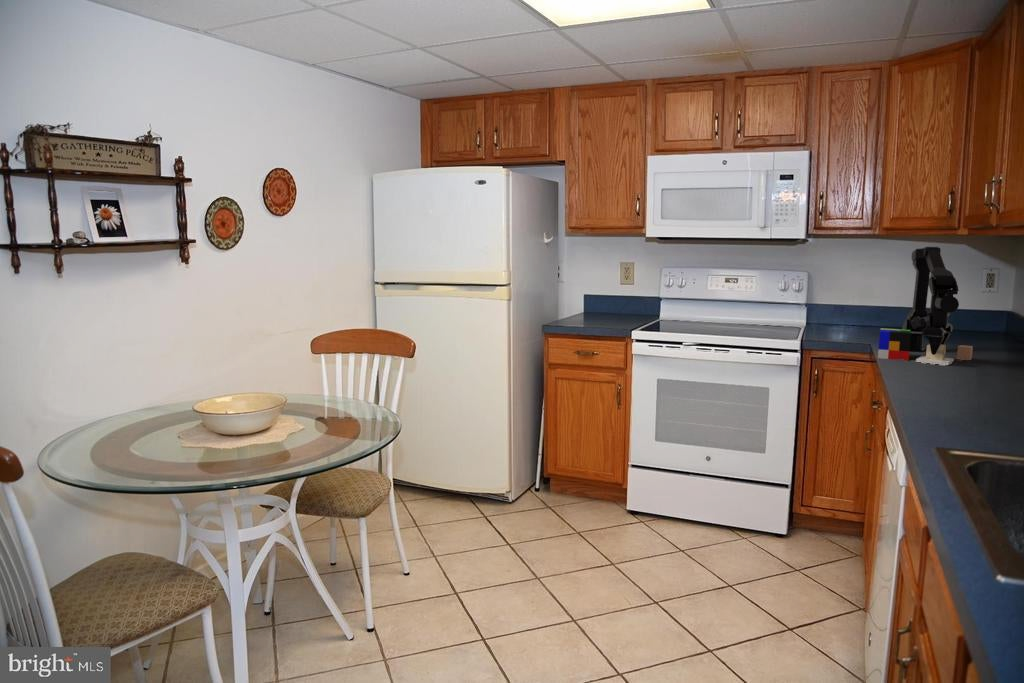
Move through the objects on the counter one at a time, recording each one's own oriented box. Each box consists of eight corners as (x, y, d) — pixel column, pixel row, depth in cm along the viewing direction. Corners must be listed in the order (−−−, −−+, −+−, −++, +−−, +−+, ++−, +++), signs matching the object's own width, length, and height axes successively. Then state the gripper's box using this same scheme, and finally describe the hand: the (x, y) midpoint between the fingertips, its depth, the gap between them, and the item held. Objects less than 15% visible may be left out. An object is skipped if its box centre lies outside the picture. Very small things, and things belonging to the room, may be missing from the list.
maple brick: (928, 357, 262) (930, 343, 261) (944, 358, 259) (946, 344, 258) (925, 359, 258) (927, 345, 258) (941, 360, 255) (943, 346, 254)
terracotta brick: (958, 358, 267) (960, 345, 266) (971, 359, 264) (972, 346, 264) (956, 360, 264) (958, 346, 263) (969, 361, 261) (970, 347, 261)
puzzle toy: (877, 358, 267) (879, 331, 266) (878, 354, 276) (880, 328, 275) (908, 360, 263) (911, 333, 261) (908, 356, 271) (910, 330, 270)
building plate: (922, 358, 266) (922, 355, 266) (953, 362, 259) (953, 358, 259) (915, 362, 258) (916, 359, 258) (948, 365, 252) (948, 362, 252)
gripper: (920, 306, 268) (916, 347, 271) (907, 310, 254) (904, 354, 257) (954, 308, 261) (950, 351, 263) (944, 312, 247) (939, 357, 249)
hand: (935, 353), depth 258 cm, fingers open, 7 cm apart
